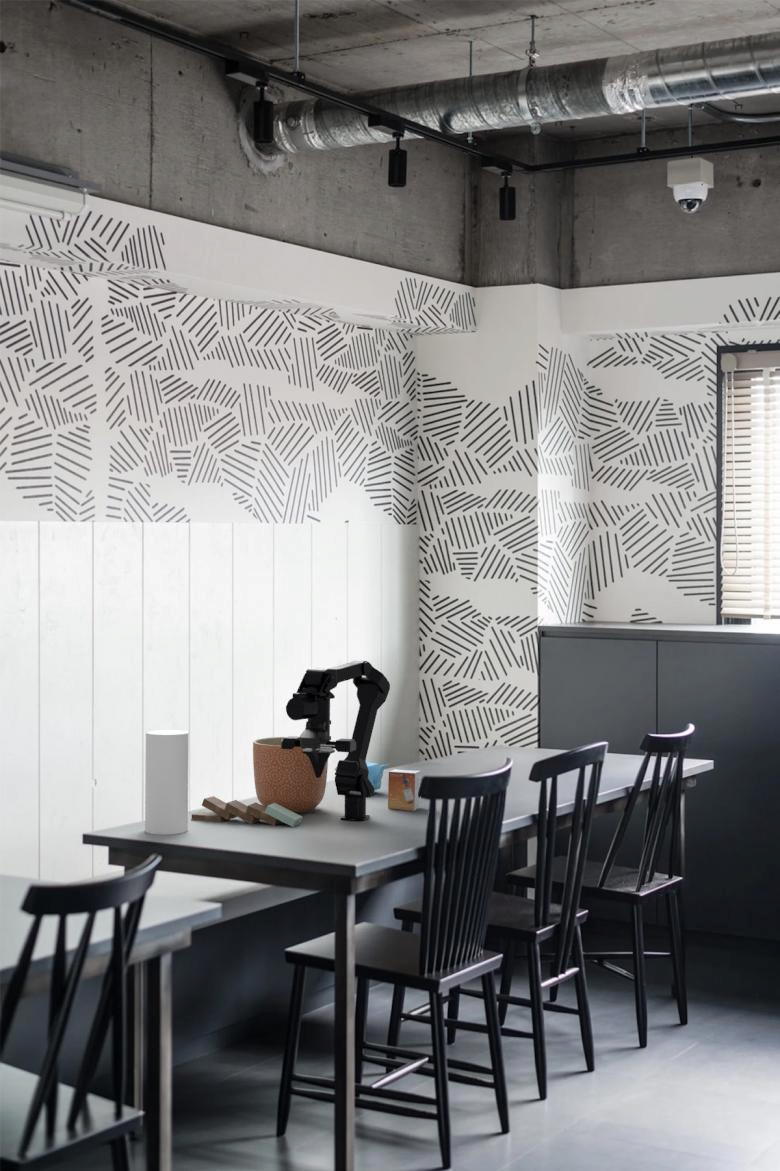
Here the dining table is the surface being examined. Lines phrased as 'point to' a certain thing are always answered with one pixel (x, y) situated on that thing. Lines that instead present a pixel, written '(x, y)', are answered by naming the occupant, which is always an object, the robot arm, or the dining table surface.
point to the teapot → (375, 774)
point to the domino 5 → (283, 814)
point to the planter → (286, 776)
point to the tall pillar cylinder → (166, 782)
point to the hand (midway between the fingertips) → (318, 777)
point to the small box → (403, 789)
